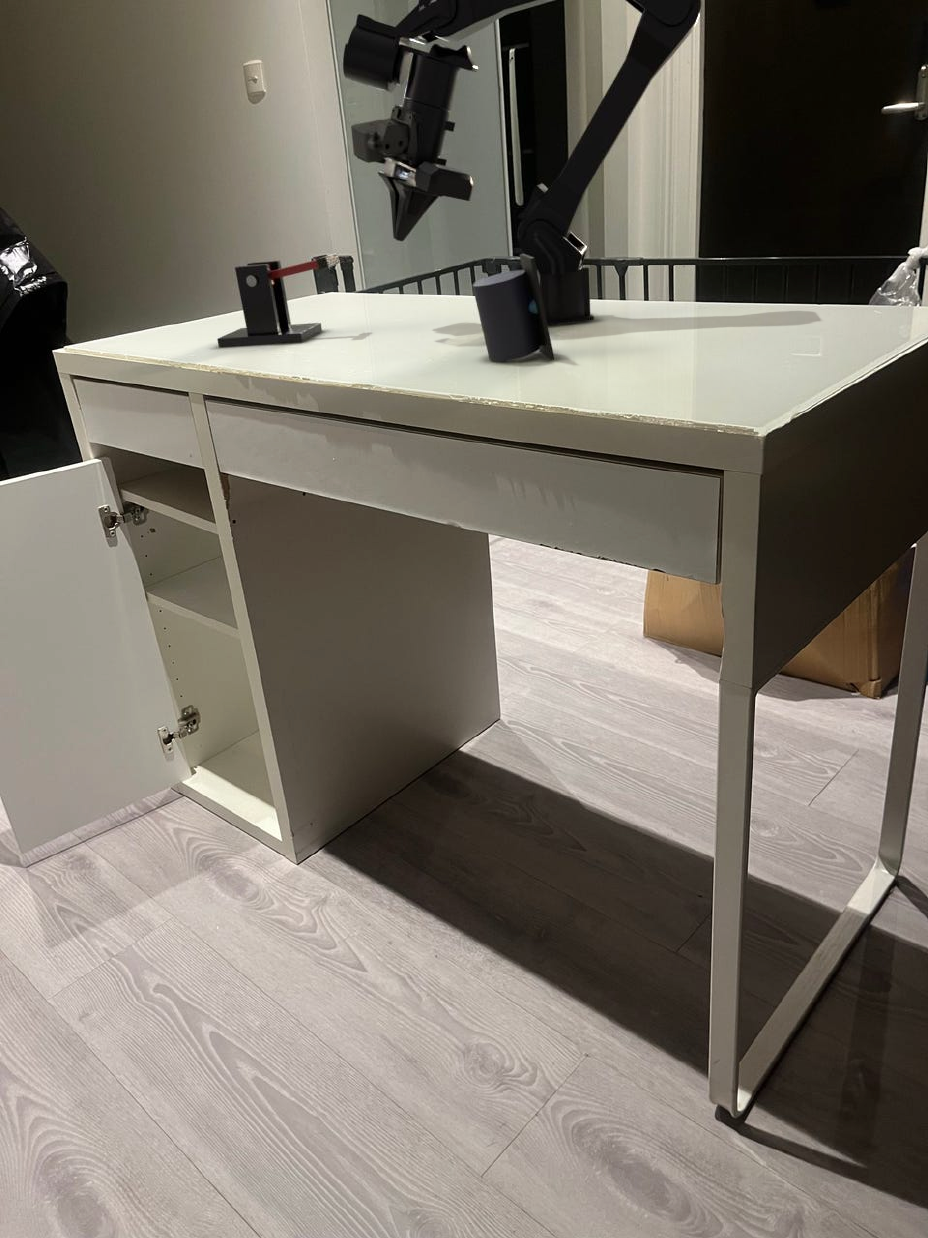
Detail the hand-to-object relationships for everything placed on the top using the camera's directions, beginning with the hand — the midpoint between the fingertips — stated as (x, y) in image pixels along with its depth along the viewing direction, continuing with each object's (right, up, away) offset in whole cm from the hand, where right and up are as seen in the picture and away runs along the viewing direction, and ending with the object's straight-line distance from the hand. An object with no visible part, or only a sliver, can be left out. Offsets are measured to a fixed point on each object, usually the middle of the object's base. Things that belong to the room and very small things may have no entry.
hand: (398, 239), depth 117 cm
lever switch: (-18, -10, +9) cm, 23 cm away
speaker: (+14, -20, -18) cm, 30 cm away
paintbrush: (-14, -3, +5) cm, 15 cm away
